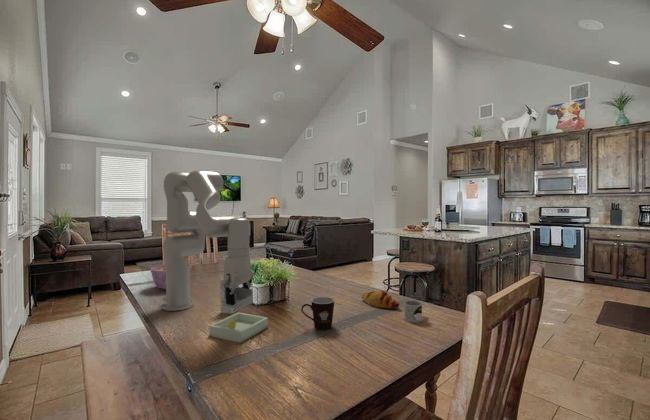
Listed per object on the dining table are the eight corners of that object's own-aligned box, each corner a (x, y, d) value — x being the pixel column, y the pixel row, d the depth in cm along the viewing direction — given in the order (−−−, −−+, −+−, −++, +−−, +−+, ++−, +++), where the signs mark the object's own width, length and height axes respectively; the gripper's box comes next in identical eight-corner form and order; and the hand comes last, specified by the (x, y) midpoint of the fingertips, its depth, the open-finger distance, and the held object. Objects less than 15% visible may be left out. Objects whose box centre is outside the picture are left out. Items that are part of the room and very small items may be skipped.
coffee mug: (337, 324, 121) (337, 298, 121) (330, 332, 113) (330, 304, 113) (309, 320, 125) (308, 295, 124) (300, 328, 117) (300, 301, 116)
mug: (416, 324, 120) (416, 307, 120) (401, 320, 125) (401, 303, 125) (428, 317, 128) (428, 300, 128) (413, 313, 132) (413, 297, 132)
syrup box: (233, 314, 132) (232, 279, 132) (220, 313, 134) (219, 278, 133) (239, 309, 138) (239, 276, 138) (226, 308, 139) (226, 275, 139)
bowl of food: (159, 284, 181) (159, 264, 181) (196, 283, 183) (195, 263, 183) (143, 294, 161) (143, 271, 161) (184, 293, 163) (184, 270, 163)
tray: (209, 335, 111) (209, 325, 111) (238, 321, 124) (238, 312, 124) (241, 343, 105) (241, 332, 105) (268, 327, 118) (268, 317, 118)
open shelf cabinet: (223, 305, 113) (223, 291, 113) (237, 299, 120) (237, 286, 119) (238, 309, 110) (239, 295, 110) (252, 302, 117) (252, 289, 116)
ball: (230, 321, 112) (228, 318, 115) (226, 329, 112) (225, 326, 114) (238, 324, 114) (236, 321, 116) (234, 332, 113) (232, 329, 116)
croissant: (358, 307, 150) (352, 294, 148) (370, 294, 156) (364, 281, 153) (395, 319, 134) (389, 304, 132) (407, 303, 140) (402, 289, 138)
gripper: (245, 248, 123) (245, 293, 124) (212, 255, 108) (212, 306, 108) (261, 249, 120) (261, 296, 121) (229, 257, 104) (229, 310, 105)
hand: (237, 300), depth 115 cm, fingers closed on open shelf cabinet, 7 cm apart
